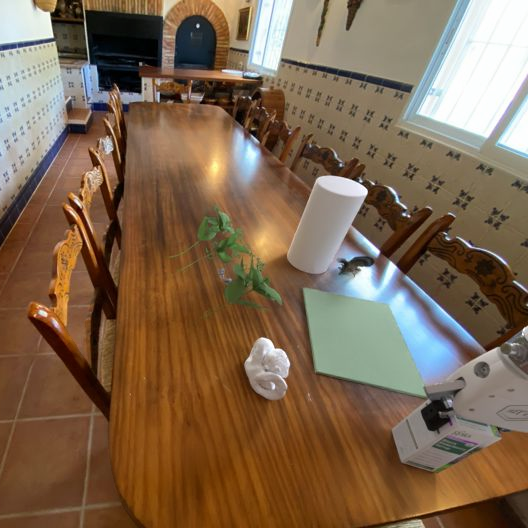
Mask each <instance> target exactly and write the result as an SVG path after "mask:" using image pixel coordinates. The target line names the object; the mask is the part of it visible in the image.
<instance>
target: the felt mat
mask: <svg viewBox="0 0 528 528" xmlns="http://www.w3.org/2000/svg"><path fill="white" fill-rule="evenodd" d="M302 296H303V303H304V309H305V314H306V316H305V317H306V322H307V328H308V334H309V341H310V347H311V354H312V360H313V366H314V368H313V369H314V373H315V374H318V375H321V376H326V377H331V378H335V379H339V380H344V381H348V382H352V383H356V384H361V385H365V386H369V387H374V388H376V389H377V388H378V389H381V390H382V389H383V390H387V391H390V392H394V393H395V392H396V393H399V394H400V393H401V394H403V395H409V396H413V397H416V398H421V399H425V400H428V399H429V398H428V397H427V395H426V393H425V391H424V389H423V387H424V386H426V383H425V381H424V379H423V377H422V375H421V373H420V371H419V369H418V367H417V364H416V362H415V360H414V358H413V356H412V353H411V351H410V348H409V347H408V344H407V342H406V340H405V337H404V336H403V333H402V331H401V328H400V326H399V324H398V323H397V320H396V318H395V316H394V314H393V312H392V310H391V307H390V305H389V303H385V302H380V301H375V300H370V299H365V298H359V297H356V296H355V297H354V296H349V295H345V294H340V293H334V292H330V291H329V292H328V291H324V290H320V289H314V288H309V287H304V286H303V287H302Z"/></svg>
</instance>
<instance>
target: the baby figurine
mask: <svg viewBox="0 0 528 528" xmlns="http://www.w3.org/2000/svg"><path fill="white" fill-rule="evenodd" d="M249 352H250V354H249V356H248V358H247V359H246V360H245V362H244V364H243V365H244V371H245V373H246V374H245V375H246V376H247V378H248V382H249V384H250V386H251V388H252V389H253V390H254V392H255V393H256V394H257V395H260V396H261V397H263V398H265V399H267V400H269V401H279V400H282V398H284V397H285V395H286V392H287V390H288V385H287V383H286V381H285V379H286V378H288V376H289V369H290V367H291V362H290V360H289V357H288V356H287V353H286V352H285V351H284V350H283V349H281V348H275V345H274V344H273V342H272V340H270V339H268V338H267V337H259V338H258V339H257V340H256V341H254V343H253V346H252V348H251V351H249Z"/></svg>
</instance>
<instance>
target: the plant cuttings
mask: <svg viewBox="0 0 528 528" xmlns="http://www.w3.org/2000/svg"><path fill="white" fill-rule="evenodd" d="M215 210H216V211H217V217H216V216H209V217H208V216H204V217H203V219H202V222H201V223H200V225H199V227H198V230H197V239H198V241H197V242H195V243H194V244H193V245H191V246H190V247H189V248H187V249H186V250H184V251H182V252H181V253H178V254H176V255H169V256H168V258H175V257H178V256H181V255H183V254H185V253H186V252H188V251H189V250H191V249H192V248H193V247H194V246H196V245H197V244H198V243H199V242H201V241H211V242H210V243H209V244H208V245H207V248H206V250H205V252H206V253H208V254H207V255H206V256H203V257H201V258H199V259H197V260H195V261H194V262H191V263H190V264H188V265H186V266H184V267H183V268H181V269H179V270H177V271H176V272H175V273H174V274H175V275H176V274H178V273H179V272H181V271H183V270H184V269H187V268H188V267H189V266H191V265H193V264H195V263H197V262H199V261H201V260H202V259H204V258H205V257H207V259H208V260H216V259H218V258H219V260H220V262H222V263H223V264H228V263H230V262H232V261H235V258H237V259H238V260H240V263H238V262H235V264H233V273H234V274H235V276H236V279H234V280H233V279H232V278H231V277H230V278H226V277H225V275H224V274H225V272H226V271H225V269H224V268H219V269H218V268H216V272H217V273H218V275H219V277H220V279H221V280H222V283H223V285H226V286H225V288H224V290H223V296H224V298H225V301H226V304H224V305H222V304H223V303H225V301H224V302H222V303H220V305H222V306H220V307H219V308H216V309H215V310H212V309H214V307H212V308H210V309H209V310H207V311H205V313H208V312H209V311H211V310H212V311H211V312H210V313H208V314H206V315H204V316H203V317H201V318H199V319H198V320H197V321H195V322H193V323H191V324H189V326H192V325H194V324H195V323H197V322H198V321H200V320H203V319H204V318H206V317H208V316H210V315H211V314H214V313H215V312H217V311H218V310H220V309H222V308H224V307H225V306H227V305H230V304H236V305H242V306H247V307H251V308H256V309H260V310H263V311H266V312H269V309H267V308H265V307H263V306H262V305H259V304H257V303H255V302H253V301H250V300H246V299H242V298H241V297H243V296H245V295H247V294H249V293H251V292H253V291H254V292H256V293H257V294H259V295H260V296H262V297H264V298H267V299H269V300H271V301H272V302H273V301H276V302H277V303H278V304H279V305H280V307H282V306H283V301H282V297H281V296H280V294H279V293H278V292H277V291H276V290H275V289H274V288H273V287H270V286H268V285H269V284H270V282H271V280H272V278H270V277H267V276H265V277H263V274H262V272H263V271H264V270H265V268H264V267H265V266H266V265H267V262H264V261H261V258H260V257H259V256H258V257H257V258H256V263H255V262H254V258H255V257H256V256H255V255H254V254H253V252H252V248H251V247H250V244H249V243H248V242H247V241H246V242H245V243H246V245H247V246H246V245H245V244H241V243H239V242H237V241H238V238H239V241H241V242H242V243H243V242H244V241H245V240H244V237H245V235H244V233H243V232H242V230H243V228H238V227H236V229H235V228H234V227H233V225H234V223H232V221H233V219H230V218H229V216H228V214H226V213H224V212H222V211H221V210H220V208H219V206H218V205H214V206H213V211H215ZM209 223H210V224H211V226H210V227H208V226H209ZM221 231H222V235H226V233H227V234H230V235H229V236H228V237H227V238H224V239H222V240H220V242H219V243H218V241H217V240H213V239H214V238H215V237H216V235H217V234H218V233H220V232H221ZM212 243H213V244H214V248H213V247H212V248H211V250H209V251H208V247H209V246H210V245H211V244H212ZM227 249H230V250H231V251H230V252H231V257H230V256H229V254H228V253H227V252H226V250H227ZM211 251H212V252H211ZM215 252H216V253H217V256H216V257H215V255H216V253H215ZM241 253H242V255H241ZM244 254H247V255H248V257H249V258H250V266H249V267H248V264H247V263H244ZM210 255H212V257H209V256H210ZM254 263H255V265H256V267H255V265H254ZM244 267H246V268H244ZM247 270H249V271H248V273H247Z"/></svg>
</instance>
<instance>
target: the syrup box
mask: <svg viewBox="0 0 528 528" xmlns="http://www.w3.org/2000/svg"><path fill="white" fill-rule="evenodd" d="M429 403H431V401H430V400H429V399H426V400H425V401H424V402H423V403H422V404H420V405H419V406H418V407H416V408H415V410H413V411H412V412H411V413H410V414H408V415H407V416H406V417H405V418H403V419H402V420H401V421H400V422H398V423H397V424H396V425H394V426H393V428H392V429H391V433H392V437H393V441H394V443H395V447H396V451H397V454H398V456H399V460H400V463H401V464H403V465H409V466H412V467H414V468H418V469H421V470H424V471H428V472H432V473H434V474H439V473H440V472H441V473H442V472H443V471H444V470H447V469H448V468H450V467H452V466H454V465H456V464H457V463H460V462H461V461H463V460H466V459H467V458H469V457H470V456H472V455H474V454H476V453H478V452H480V451H482V450H484V449H485V448H487V447H489V446H491V445H493V444H495V443H496V442H499V441H501V440H502V436H501V432H500V433H499V431H500V430H499V431H498V429H497V427H496V426H493V425H489V424H485V423H480V422H476V421H473V420H469V419H466V418H463V417H461V416H459V415H455V416H451V417H449V422H448V423H446V424H445V425H443V426H442V427H440V428H439V429H437V430H435V431H429V430H428V429H427V426H426V424H425V422H424V420H423V418H422V414H421V410H422V409H423V408H424V407H426V406H427V405H428V404H429ZM444 404H445V406H446V408H449V407H452V401H451V399H450V400H447V401H444Z"/></svg>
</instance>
